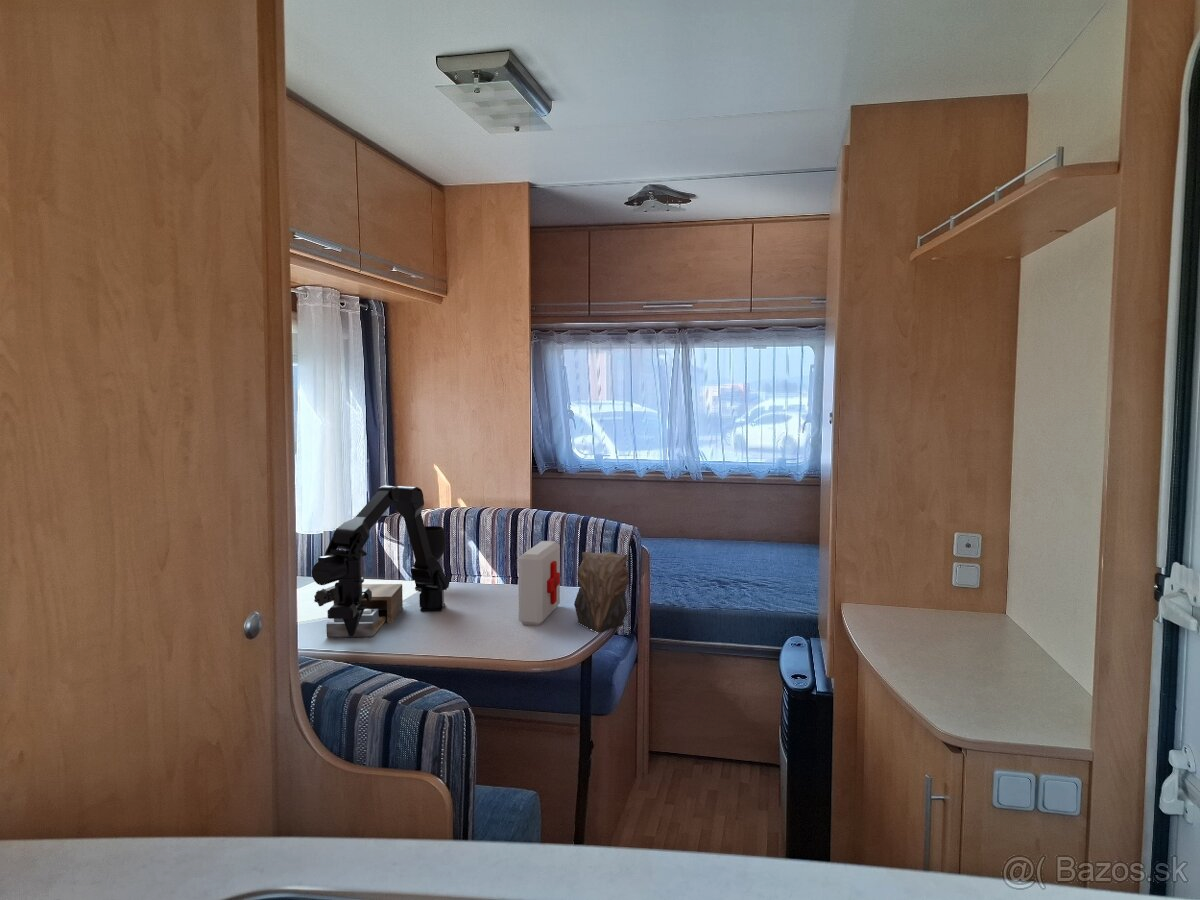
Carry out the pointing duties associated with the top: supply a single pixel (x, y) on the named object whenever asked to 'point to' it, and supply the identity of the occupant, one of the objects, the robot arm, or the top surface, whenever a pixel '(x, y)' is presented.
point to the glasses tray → (367, 616)
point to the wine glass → (435, 542)
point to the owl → (602, 590)
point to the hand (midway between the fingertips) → (351, 635)
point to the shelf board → (362, 629)
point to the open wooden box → (384, 599)
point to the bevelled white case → (539, 582)
